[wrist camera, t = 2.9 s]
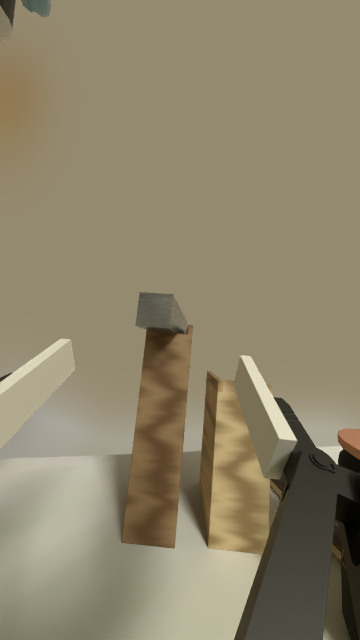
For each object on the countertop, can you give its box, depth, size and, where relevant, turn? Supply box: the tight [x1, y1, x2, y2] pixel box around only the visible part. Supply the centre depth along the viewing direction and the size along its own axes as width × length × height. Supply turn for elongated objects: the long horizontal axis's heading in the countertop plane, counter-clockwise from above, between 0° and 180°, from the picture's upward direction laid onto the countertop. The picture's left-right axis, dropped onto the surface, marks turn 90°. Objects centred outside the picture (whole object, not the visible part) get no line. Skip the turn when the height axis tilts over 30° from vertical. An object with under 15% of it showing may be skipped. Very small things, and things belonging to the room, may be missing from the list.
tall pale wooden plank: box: [199, 371, 272, 554], centre depth 32 cm, size 8×12×22 cm, turn 0°
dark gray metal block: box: [136, 292, 187, 335], centre depth 32 cm, size 4×22×4 cm, turn 173°
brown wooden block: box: [122, 325, 193, 548], centre depth 33 cm, size 7×13×30 cm, turn 0°
